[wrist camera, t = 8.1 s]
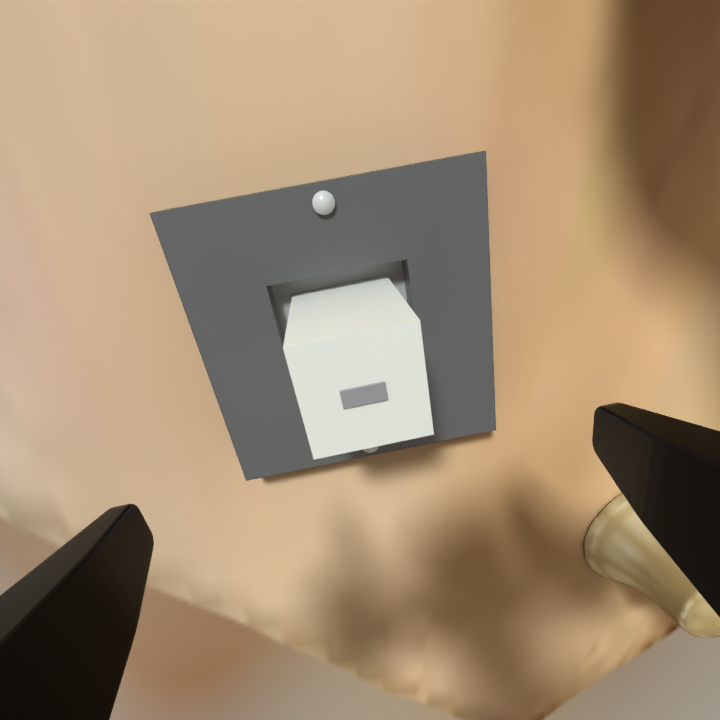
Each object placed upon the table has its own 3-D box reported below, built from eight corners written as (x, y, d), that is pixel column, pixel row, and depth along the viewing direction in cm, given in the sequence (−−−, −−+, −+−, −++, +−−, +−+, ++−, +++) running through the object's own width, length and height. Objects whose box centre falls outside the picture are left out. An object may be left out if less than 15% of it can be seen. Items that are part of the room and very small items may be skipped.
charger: (386, 275, 17) (420, 321, 12) (399, 360, 19) (434, 436, 13) (292, 293, 17) (282, 349, 12) (313, 378, 19) (313, 461, 13)
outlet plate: (471, 153, 16) (488, 150, 14) (484, 413, 21) (497, 432, 19) (163, 210, 16) (147, 213, 14) (250, 460, 21) (245, 483, 19)
